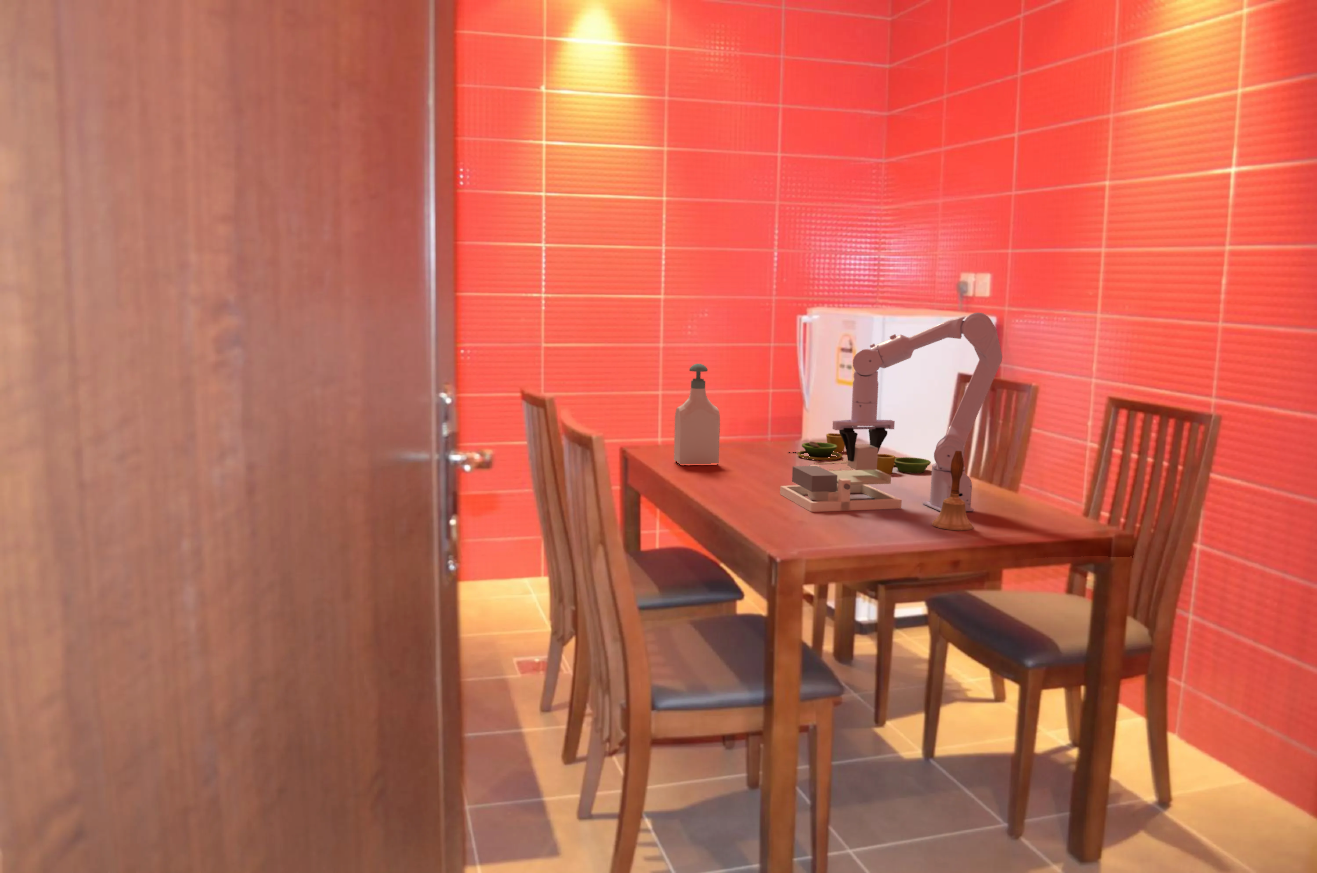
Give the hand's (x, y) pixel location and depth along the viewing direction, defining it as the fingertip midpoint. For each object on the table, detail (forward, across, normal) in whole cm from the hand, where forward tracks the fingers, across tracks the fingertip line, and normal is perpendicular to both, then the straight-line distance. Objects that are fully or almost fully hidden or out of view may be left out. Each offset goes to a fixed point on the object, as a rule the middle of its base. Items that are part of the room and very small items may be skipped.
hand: (861, 460), depth 243 cm
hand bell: (+10, -8, +27) cm, 30 cm away
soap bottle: (+10, +24, -53) cm, 59 cm away
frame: (+9, +4, 0) cm, 10 cm away
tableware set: (+10, -22, -49) cm, 54 cm away
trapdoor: (+6, +5, 0) cm, 8 cm away
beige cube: (+2, 0, 0) cm, 2 cm away
